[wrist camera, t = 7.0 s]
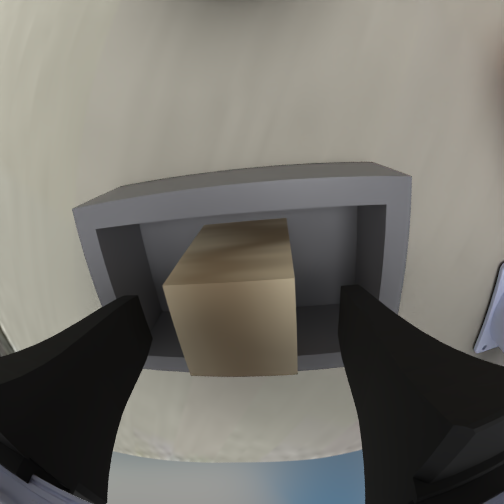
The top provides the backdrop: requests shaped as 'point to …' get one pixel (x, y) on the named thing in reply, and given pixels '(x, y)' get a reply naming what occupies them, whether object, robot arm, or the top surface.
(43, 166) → the top surface
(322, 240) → the grey rectangular open box
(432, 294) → the top surface
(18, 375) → the robot arm
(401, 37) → the top surface
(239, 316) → the birch block
